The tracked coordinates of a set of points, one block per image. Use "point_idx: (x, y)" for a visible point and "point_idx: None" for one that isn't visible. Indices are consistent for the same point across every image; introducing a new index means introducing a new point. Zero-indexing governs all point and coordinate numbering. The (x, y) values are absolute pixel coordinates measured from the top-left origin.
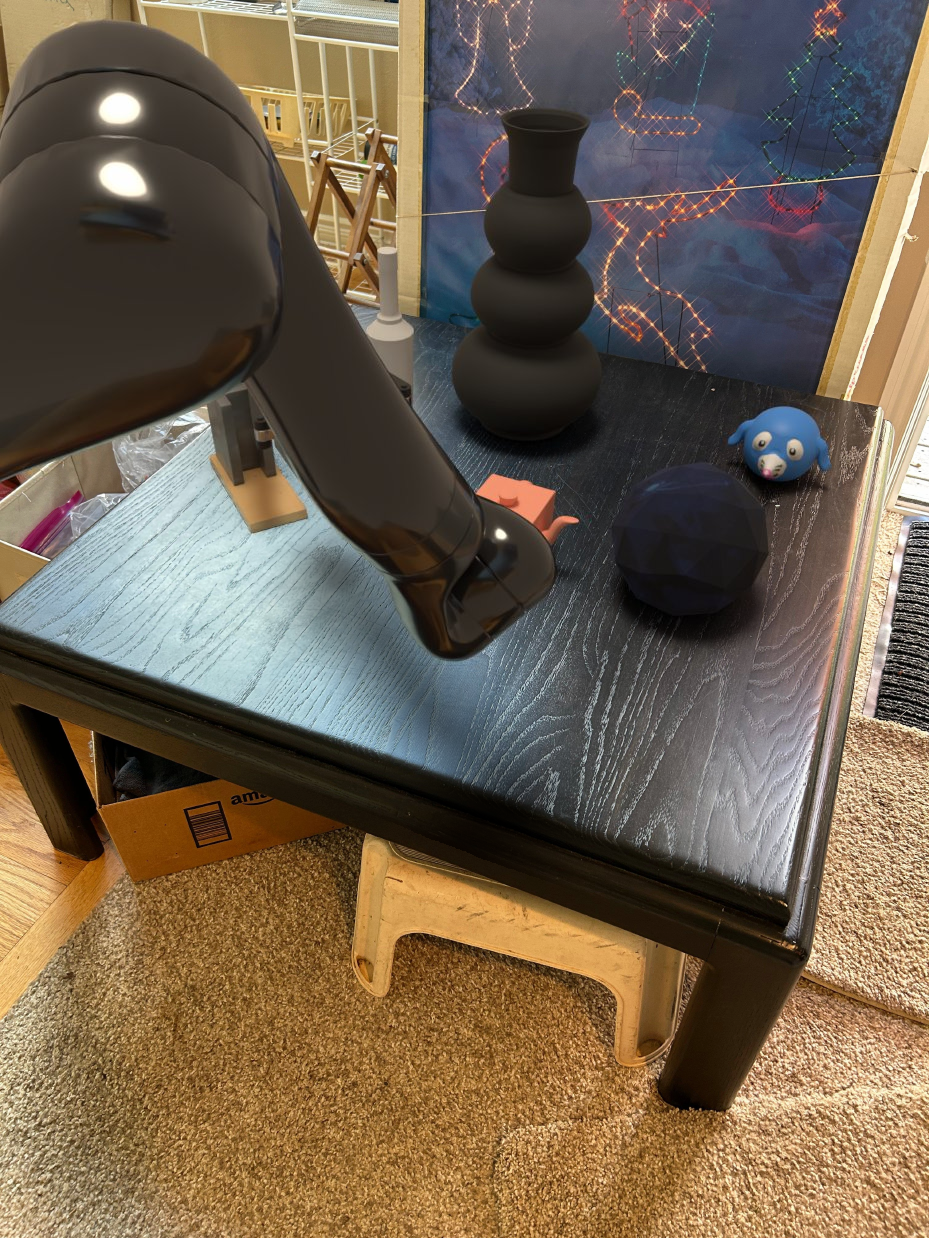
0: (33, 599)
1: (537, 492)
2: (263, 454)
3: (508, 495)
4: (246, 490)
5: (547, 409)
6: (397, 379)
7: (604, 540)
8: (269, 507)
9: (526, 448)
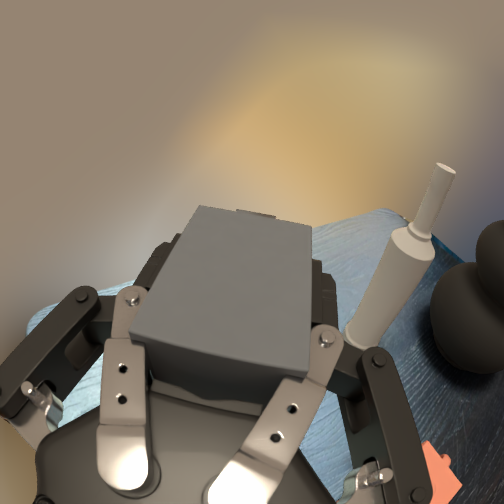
0: (48, 312)
1: (449, 483)
2: None
3: None
4: None
5: (489, 365)
6: (416, 453)
7: (458, 500)
8: None
9: (453, 372)
